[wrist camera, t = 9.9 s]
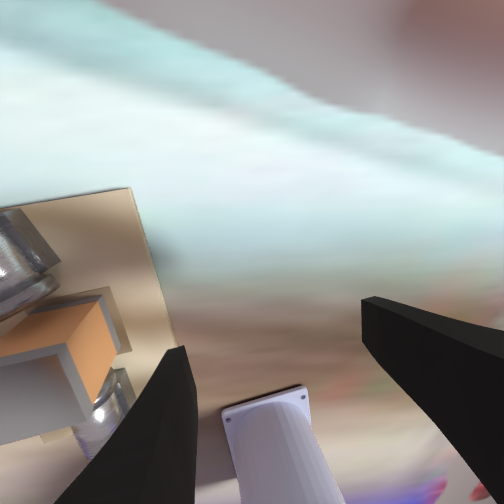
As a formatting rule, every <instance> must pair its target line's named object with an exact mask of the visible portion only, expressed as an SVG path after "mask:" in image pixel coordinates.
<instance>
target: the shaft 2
mask: <svg viewBox="0 0 504 504" xmlns="http://www.w3.org/2000/svg"><path fill="white" fill-rule="evenodd" d="M136 400H137V398H136V395H135V392H134V390H133V387H132V385H131V382H130V379H129V377H128V374H127V371H126V369H125V368H121V369H117V370H113V368H112V367H110V369H109V371H108V374H107V376H106V378H105V380H104V383H103V385H102V387H101V389H100V392H99V394H98V396H97V398H96V401H95V403H94V405H93V407H94V409H93V411H92V413H91V416H90V418H89V420H88V422H84V423H81V424H77V425H73V426H70V428H71V430H72V432H73V434H74V436H75V438H76V440H77V442H78V444H79V446H80V448H81V449H82V451H83V453H84V455H85V457H87V458H89V459H93V458H94V457H95V456H96V454H97V453H98V452H99V451H100V449H101V448H102V447H103V446H104V445H105V443H106V442H107V441H108V439H109V438H110V437H111V435H112V434H113V433H114V431H115V430H116V429H117V427H118V426H119V425H120V423H121V422H122V420H123V419H124V417H125V416H126V414H127V413H128V412H129V410H130V409H131V407H132V406H133V404H134V403H135V401H136Z"/></svg>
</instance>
